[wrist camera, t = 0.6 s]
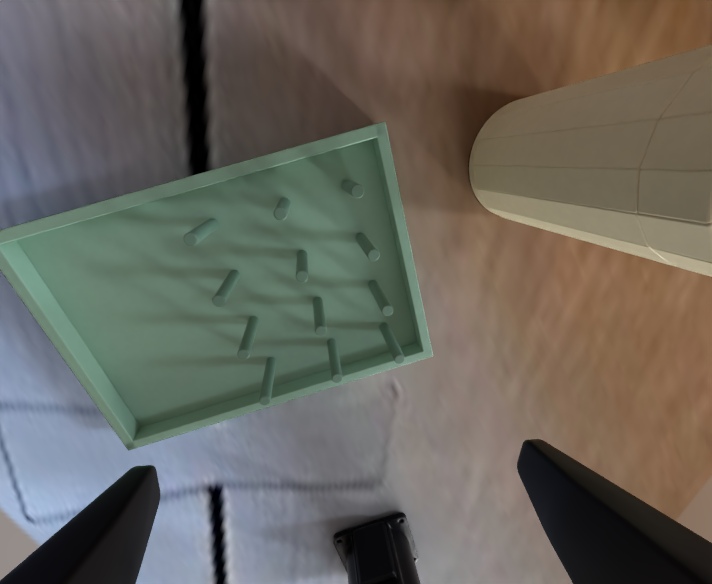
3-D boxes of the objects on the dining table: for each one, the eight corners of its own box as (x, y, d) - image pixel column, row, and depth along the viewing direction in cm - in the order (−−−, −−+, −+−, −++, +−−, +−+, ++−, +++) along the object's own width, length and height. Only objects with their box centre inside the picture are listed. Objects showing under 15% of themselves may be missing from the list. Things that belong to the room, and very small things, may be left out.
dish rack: (423, 341, 24) (450, 382, 19) (142, 427, 23) (103, 491, 19) (377, 125, 18) (400, 113, 14) (10, 228, 18) (-88, 251, 13)
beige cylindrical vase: (573, 200, 22) (909, 250, 10) (475, 229, 21) (695, 317, 9) (572, 84, 19) (1024, -45, 7) (461, 115, 19) (735, 36, 7)
